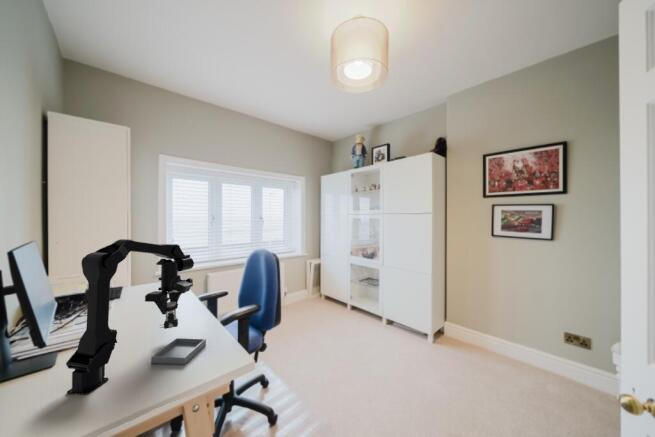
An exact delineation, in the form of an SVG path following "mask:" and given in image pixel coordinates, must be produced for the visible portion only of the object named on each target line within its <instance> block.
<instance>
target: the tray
mask: <svg viewBox="0 0 655 437" xmlns="http://www.w3.org/2000/svg"><path fill="white" fill-rule="evenodd" d="M206 346H207V338H193V337H192V338H190V337H189V338H188V337H187V338H186V337H176V338H175V339H173V340H172V341H171V342H169V343H168V344H167V345H165V346H164V347H162V349H160V350H159V351H157V352H155V353H154V354H153V355H152V356H151V357H150V361H151V362H150V364H151V365H163V366H164V365H167V366H169V365H171V366H185V365H187V364H188V363H189V362H190V360H192V359H193V358H195V356H196V355H197V354H198V353H199V352H201V350H203V348H204V347H206Z"/></svg>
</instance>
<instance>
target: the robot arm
mask: <svg viewBox="0 0 655 437" xmlns="http://www.w3.org/2000/svg"><path fill="white" fill-rule="evenodd" d="M131 252H133V253H142V254H143V253H144V254H151V255H155V256H156V257H160V260H159V261H157V262H156V263H155V264H156V266H161V267H160V268H161V270H160V271H161V272H160V275H161V276H159V277H158V281H160V287H158V290H157V291H156V290H154V291H152V292H148V293H146V295H145V296H144V302H149V303H150V302H152V303H155V305H156V306H157V308H158V310H159V311H160V313H161V314H162V315H165V316H166V309H167V303H168V302H176V303H178V302H179V300H180V297H181V295H182V294H186V293H187V292H190V290H191V288H192V287H193V286H194V284H193V283H194V280H193V278H191V277H188V278H186V279H182V278H181V275H179V272H185V271H187V270H191V269H193V267H194V266H195V265H194V264H195V261H194V260H193V258H192V257H191V254H185V253H184V251H183V250H182V249H181V246H180V244H176V243H171V244H170V243H151V242H150V243H149V242H144V241H137V240H132V239H125V238H122V239H121V238H120V239H117V240H116V241H114V242H113V243H111V244H108V245H105V246H104V247H101V248H99V249H97V250H95V251H93V252H90V253H88V254H86V255H85V256H83V257H82V259H81V263H80V264H81V270H82V274H83V276H84V277H85V279H86V280H87V283H88V284H87V285H88V288H87V306H86V310H87V312H86V329H85V331H84V333H83V334H82V335H81V336H80V338H79V341H78V345H77V349H76V351H75V352H74V353H73V354H72V355H71V356H70V358H69V359H68V360H67V361H66V363H65V365H66V367H67V369H69V370H70V369H72V370H73V371H72V373H71V388H70V389H68V390H67V391H66V394H68V395H89V394H90V393H92V392H93V391H95V390H96V389H98V388H99V387H100V386H102V385H103V384H104V383H106V382H107V381H109V378H110V377H105V375H106V367H105V365H107V364H109V361H110V359H111V357H112V353H113V351H114V350H115V346H116V344H117V343H118V341H117V335H118V331H117V329H112V328H110V326H109V317H110V316H109V315H110V300H111V299H110V296H111V294H110V292H111V280H112V279H113V277H114V276H115V274H116V273H117V270H118V266H119V264H120V263H121V262H122V261H124V260H125V259H126V258H127V257H128V255H129V253H131Z"/></svg>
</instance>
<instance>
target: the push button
mask: <svg viewBox="0 0 655 437" xmlns="http://www.w3.org/2000/svg"><path fill="white" fill-rule="evenodd" d="M178 305H179V303H178V302H177V303H176V302H170V301H167V309H166V314H165V320H164V322H163V324H160V325H159V329H164V330H165V329H172V328H178V325H179V319H178V317H177V309H178V308H179V306H178Z"/></svg>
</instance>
